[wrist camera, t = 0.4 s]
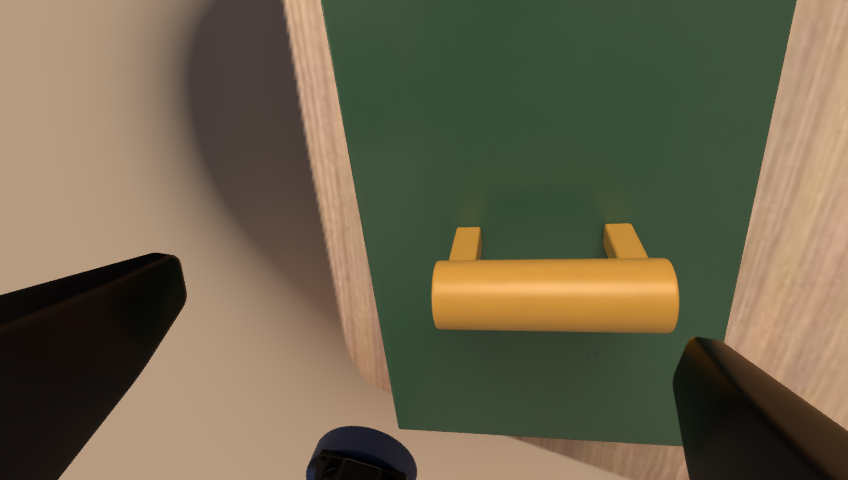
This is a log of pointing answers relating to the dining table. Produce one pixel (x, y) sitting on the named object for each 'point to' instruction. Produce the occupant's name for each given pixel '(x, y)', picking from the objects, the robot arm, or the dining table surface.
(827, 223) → the dining table surface
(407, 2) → the tin lid
